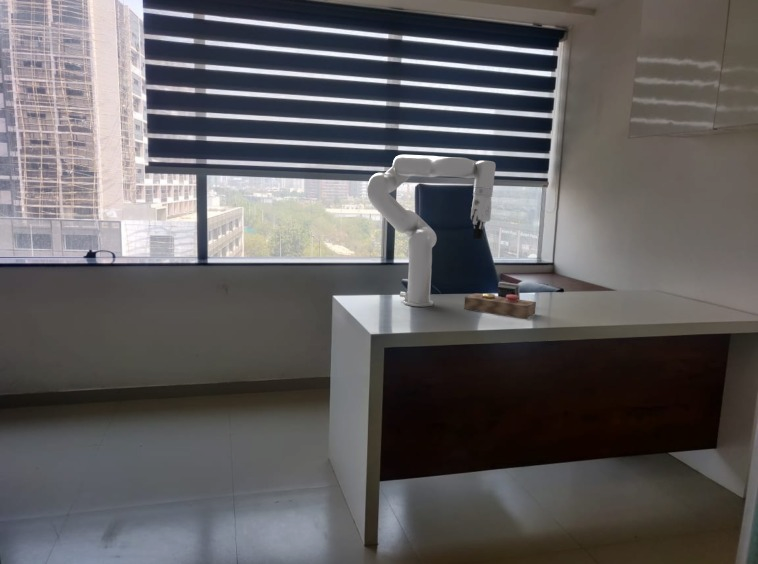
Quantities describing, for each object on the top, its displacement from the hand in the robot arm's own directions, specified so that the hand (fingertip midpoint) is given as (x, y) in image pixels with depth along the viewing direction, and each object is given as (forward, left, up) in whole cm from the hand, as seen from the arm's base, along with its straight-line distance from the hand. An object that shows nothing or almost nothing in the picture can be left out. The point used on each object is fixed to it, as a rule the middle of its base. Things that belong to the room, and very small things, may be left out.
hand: (477, 238), depth 223 cm
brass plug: (+5, +4, -29) cm, 30 cm away
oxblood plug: (+15, +4, -28) cm, 32 cm away
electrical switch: (+7, +23, -29) cm, 38 cm away
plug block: (+10, +4, -29) cm, 31 cm away
